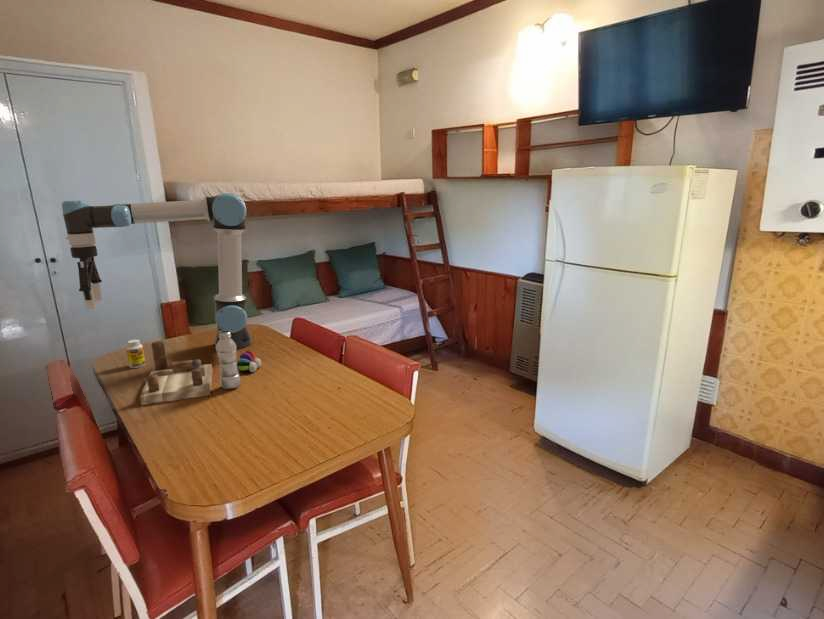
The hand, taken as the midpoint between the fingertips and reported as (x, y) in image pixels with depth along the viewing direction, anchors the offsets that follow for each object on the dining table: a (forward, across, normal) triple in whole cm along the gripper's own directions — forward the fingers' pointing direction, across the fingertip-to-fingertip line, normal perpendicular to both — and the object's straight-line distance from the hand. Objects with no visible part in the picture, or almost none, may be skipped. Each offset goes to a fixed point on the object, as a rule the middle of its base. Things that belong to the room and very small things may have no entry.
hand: (94, 304), depth 166 cm
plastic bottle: (+27, +36, +41) cm, 61 cm away
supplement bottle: (+26, -2, +10) cm, 28 cm away
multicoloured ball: (+27, +21, +48) cm, 59 cm away
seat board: (+26, +28, +25) cm, 46 cm away
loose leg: (+26, +8, +18) cm, 33 cm away
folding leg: (+23, +20, +28) cm, 41 cm away
